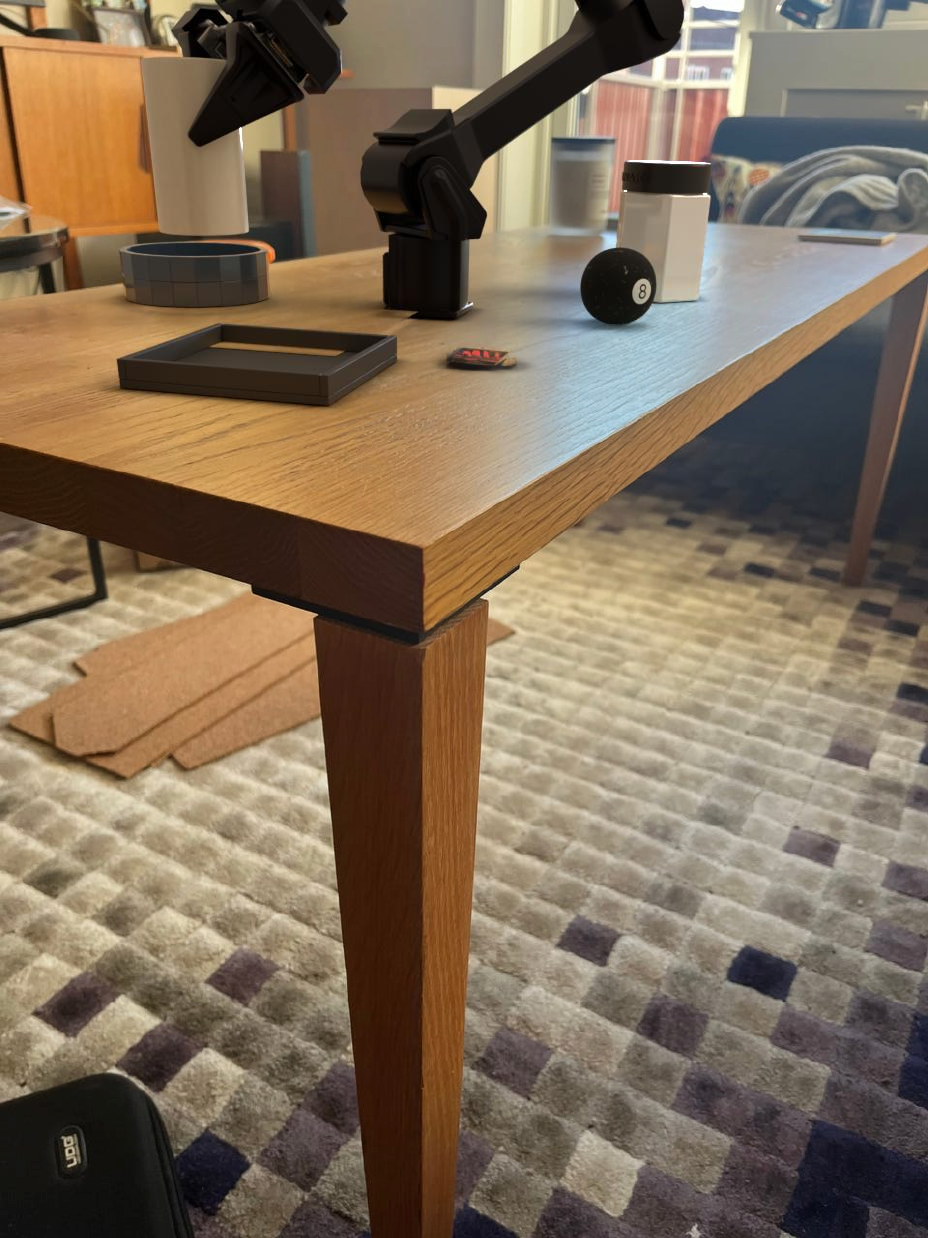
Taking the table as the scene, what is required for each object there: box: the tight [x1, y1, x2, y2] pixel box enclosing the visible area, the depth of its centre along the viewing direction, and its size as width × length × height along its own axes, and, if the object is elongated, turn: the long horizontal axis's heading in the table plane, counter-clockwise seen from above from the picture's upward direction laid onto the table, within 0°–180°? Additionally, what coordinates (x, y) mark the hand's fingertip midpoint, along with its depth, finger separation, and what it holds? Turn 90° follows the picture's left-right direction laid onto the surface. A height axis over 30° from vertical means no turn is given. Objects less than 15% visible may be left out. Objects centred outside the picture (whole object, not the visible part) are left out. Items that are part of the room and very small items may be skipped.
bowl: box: [118, 241, 271, 308], centre depth 86 cm, size 12×12×4 cm
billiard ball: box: [579, 247, 657, 326], centre depth 81 cm, size 6×6×6 cm
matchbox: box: [446, 346, 518, 368], centre depth 68 cm, size 5×5×1 cm
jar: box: [615, 160, 713, 304], centre depth 96 cm, size 9×8×12 cm
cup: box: [140, 56, 250, 237], centre depth 71 cm, size 6×6×11 cm
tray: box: [116, 322, 398, 407], centre depth 63 cm, size 13×13×2 cm
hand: (177, 140), depth 70 cm, fingers closed on cup, 6 cm apart
